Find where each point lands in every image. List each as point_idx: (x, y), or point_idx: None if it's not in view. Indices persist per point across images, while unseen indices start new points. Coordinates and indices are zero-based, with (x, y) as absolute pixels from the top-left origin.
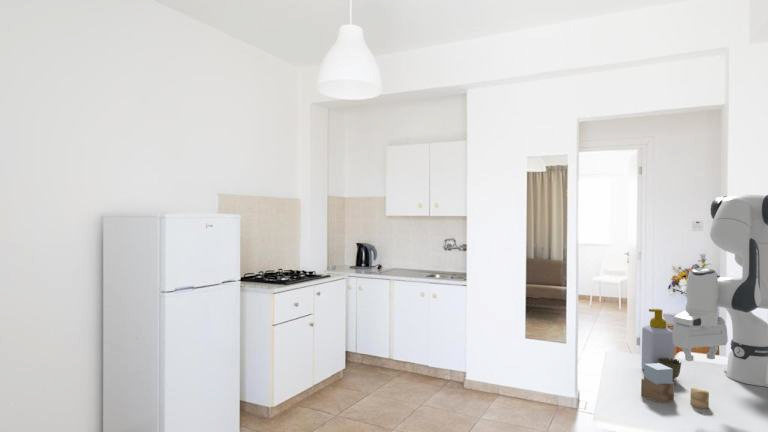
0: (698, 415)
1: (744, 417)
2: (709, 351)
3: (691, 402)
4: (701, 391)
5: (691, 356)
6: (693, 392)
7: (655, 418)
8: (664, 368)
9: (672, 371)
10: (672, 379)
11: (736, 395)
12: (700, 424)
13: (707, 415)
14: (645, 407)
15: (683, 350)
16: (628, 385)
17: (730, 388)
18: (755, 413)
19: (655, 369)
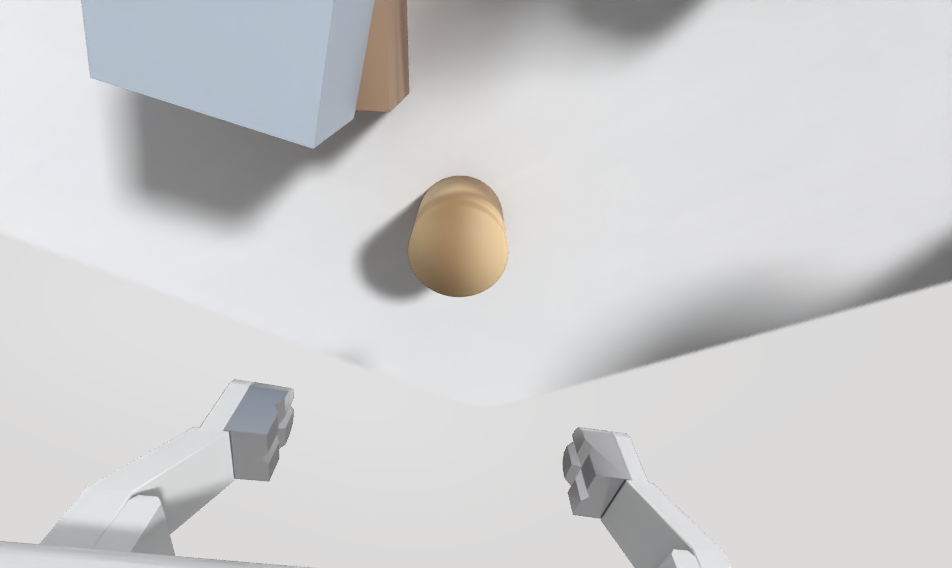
0: (334, 272)
1: (506, 362)
2: (636, 498)
3: (422, 200)
4: (456, 265)
5: (232, 474)
6: (410, 239)
7: (69, 193)
8: (224, 92)
9: (319, 141)
10: (345, 124)
11: (801, 240)
12: (252, 318)
13: (376, 290)
14: None
15: (109, 483)
16: None
17: (927, 172)
18: (594, 364)
19: (91, 43)
